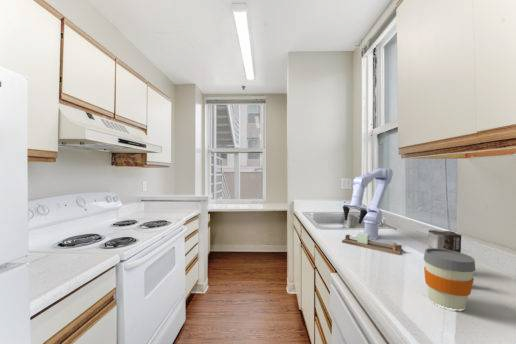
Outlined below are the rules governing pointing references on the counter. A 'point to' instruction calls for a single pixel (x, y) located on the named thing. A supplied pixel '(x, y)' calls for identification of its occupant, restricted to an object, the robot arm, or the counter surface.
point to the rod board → (375, 245)
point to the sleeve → (363, 238)
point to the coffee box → (444, 240)
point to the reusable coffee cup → (448, 277)
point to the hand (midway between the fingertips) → (352, 221)
